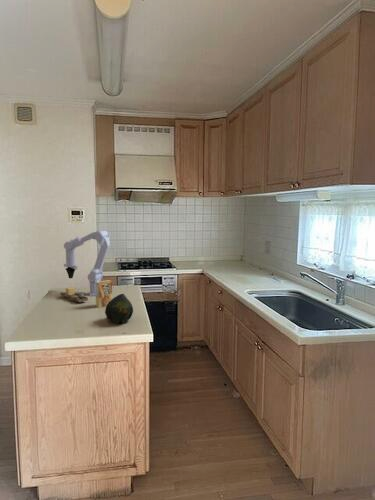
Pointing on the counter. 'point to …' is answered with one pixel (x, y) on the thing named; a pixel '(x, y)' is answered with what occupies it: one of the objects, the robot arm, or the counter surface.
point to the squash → (119, 309)
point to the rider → (70, 291)
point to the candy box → (103, 293)
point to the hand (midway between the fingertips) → (70, 278)
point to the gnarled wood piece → (75, 297)
